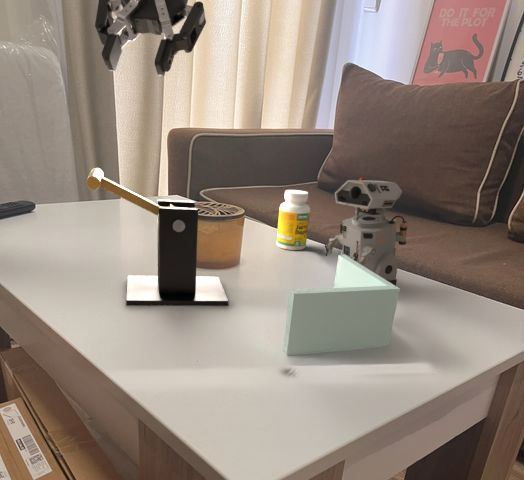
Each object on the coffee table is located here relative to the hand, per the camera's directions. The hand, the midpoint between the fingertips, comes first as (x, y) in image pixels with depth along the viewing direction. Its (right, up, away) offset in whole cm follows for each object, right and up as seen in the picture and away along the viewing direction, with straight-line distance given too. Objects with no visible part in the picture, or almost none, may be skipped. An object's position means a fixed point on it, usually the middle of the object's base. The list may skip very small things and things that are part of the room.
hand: (134, 67), depth 64 cm
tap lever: (+1, -19, -3) cm, 19 cm away
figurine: (+30, -25, +15) cm, 41 cm away
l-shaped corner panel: (+22, -33, -4) cm, 40 cm away
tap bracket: (+5, -28, +2) cm, 29 cm away
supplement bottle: (+21, -16, +30) cm, 40 cm away
